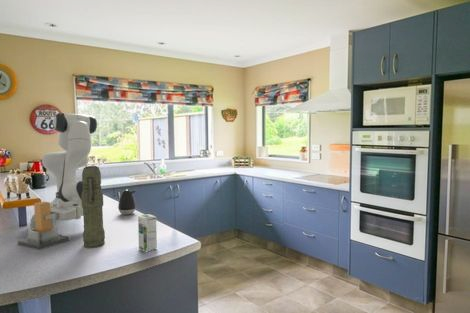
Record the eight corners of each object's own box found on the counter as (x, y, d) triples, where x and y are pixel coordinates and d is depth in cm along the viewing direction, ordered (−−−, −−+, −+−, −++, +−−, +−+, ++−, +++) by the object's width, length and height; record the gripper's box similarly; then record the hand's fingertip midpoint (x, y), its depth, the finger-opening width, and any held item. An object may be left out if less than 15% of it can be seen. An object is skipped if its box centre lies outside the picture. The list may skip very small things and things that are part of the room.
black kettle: (136, 215, 197) (136, 190, 196) (118, 216, 193) (117, 191, 192) (135, 211, 207) (134, 187, 206) (118, 213, 203) (117, 188, 202)
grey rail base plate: (48, 235, 159) (47, 223, 158) (69, 240, 151) (68, 227, 151) (17, 244, 146) (17, 230, 146) (39, 249, 139) (38, 235, 138)
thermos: (104, 239, 152) (101, 164, 149) (105, 247, 141) (102, 167, 139) (83, 242, 148) (80, 165, 146) (83, 250, 137) (79, 168, 135)
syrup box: (138, 249, 138) (137, 215, 137) (150, 246, 142) (149, 213, 141) (145, 253, 133) (143, 218, 132) (157, 249, 138) (156, 215, 137)
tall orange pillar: (35, 233, 147) (34, 203, 146) (45, 231, 151) (43, 201, 150) (41, 235, 145) (40, 204, 144) (51, 232, 149) (49, 202, 148)
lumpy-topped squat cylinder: (29, 234, 160) (28, 217, 159) (35, 227, 172) (34, 211, 172) (53, 232, 164) (52, 215, 163) (57, 225, 176) (56, 210, 175)
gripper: (55, 202, 164) (27, 207, 152) (82, 205, 154) (54, 212, 142) (56, 214, 164) (27, 221, 152) (82, 218, 155) (55, 226, 143)
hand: (40, 216), depth 147 cm, fingers closed on tall orange pillar, 4 cm apart
